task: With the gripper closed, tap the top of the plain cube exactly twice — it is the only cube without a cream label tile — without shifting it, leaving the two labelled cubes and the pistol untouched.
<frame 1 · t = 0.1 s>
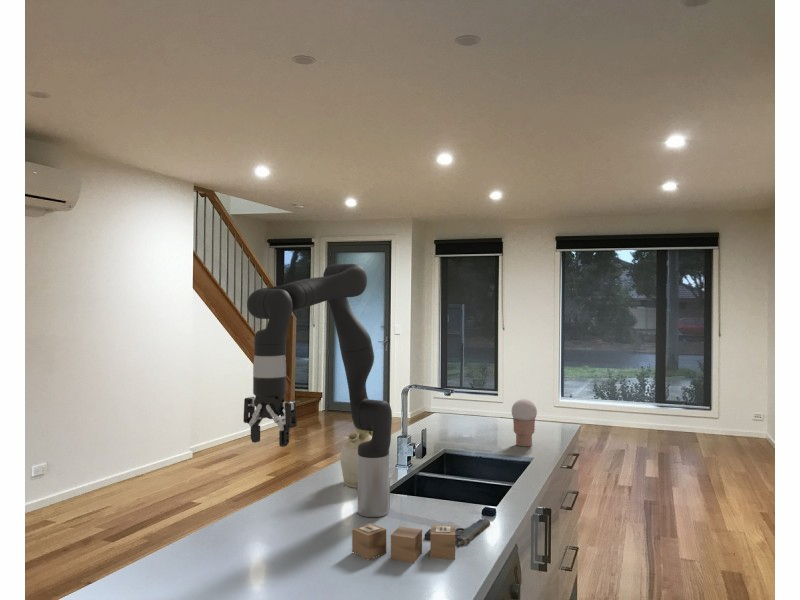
hand: (269, 444, 143), 29 cm above the worktop, tool pointing down, fingers open, 8 cm apart
pistol: (457, 534, 166), on the worktop
jug: (362, 484, 210), on the worktop
ice cream cone: (524, 445, 268), on the worktop
labelled block B: (443, 553, 152), on the worktop
plain block: (406, 556, 150), on the worktop
labelled block A: (369, 553, 152), on the worktop
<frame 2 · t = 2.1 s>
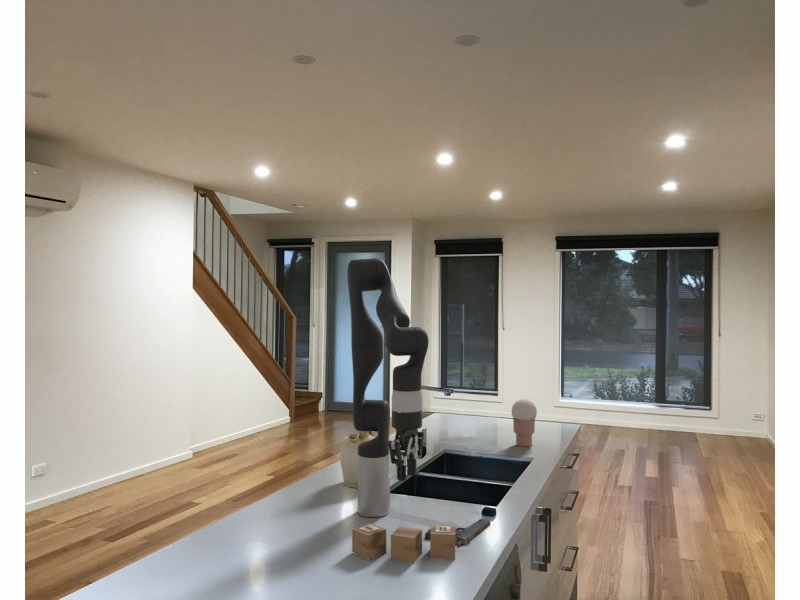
hand: (406, 477, 150), 19 cm above the worktop, tool pointing down, fingers open, 4 cm apart
nothing on the worktop moved.
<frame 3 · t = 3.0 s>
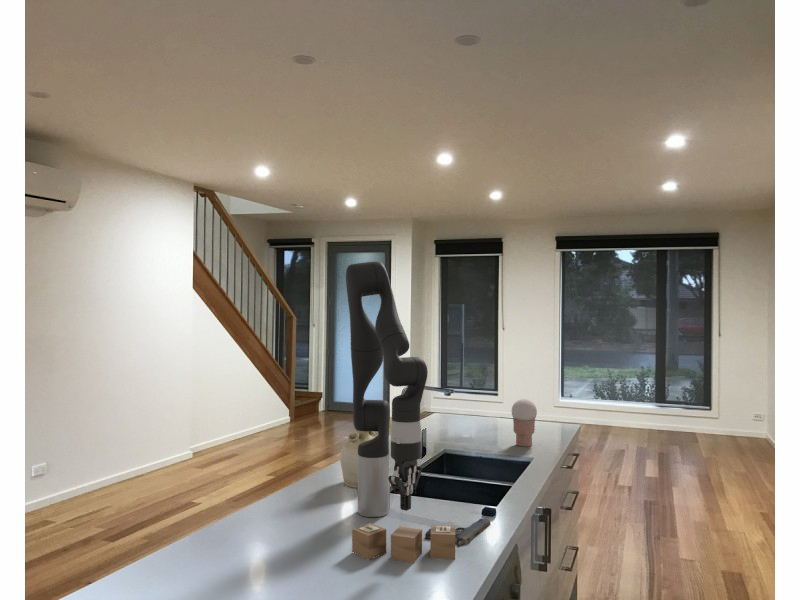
hand: (405, 509, 150), 12 cm above the worktop, tool pointing down, fingers closed
nothing on the worktop moved.
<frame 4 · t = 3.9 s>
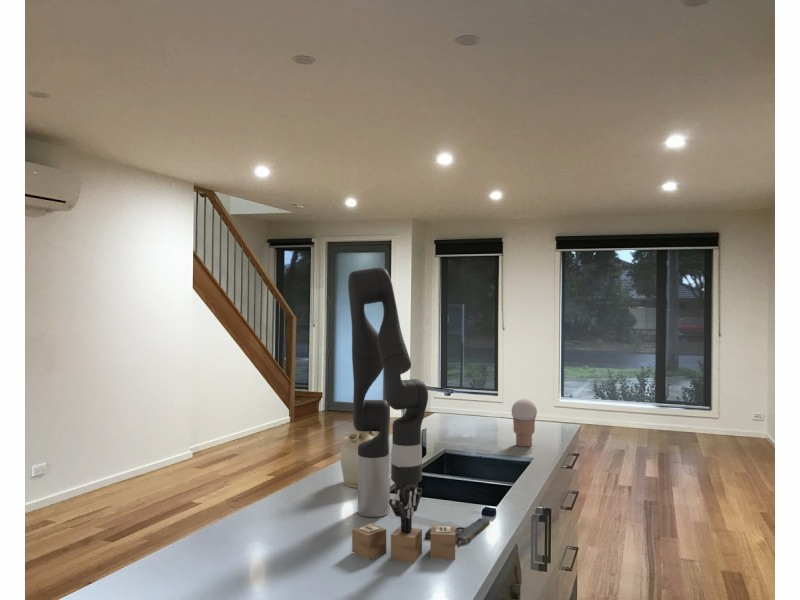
hand: (406, 531, 150), 6 cm above the worktop, tool pointing down, fingers closed
nothing on the worktop moved.
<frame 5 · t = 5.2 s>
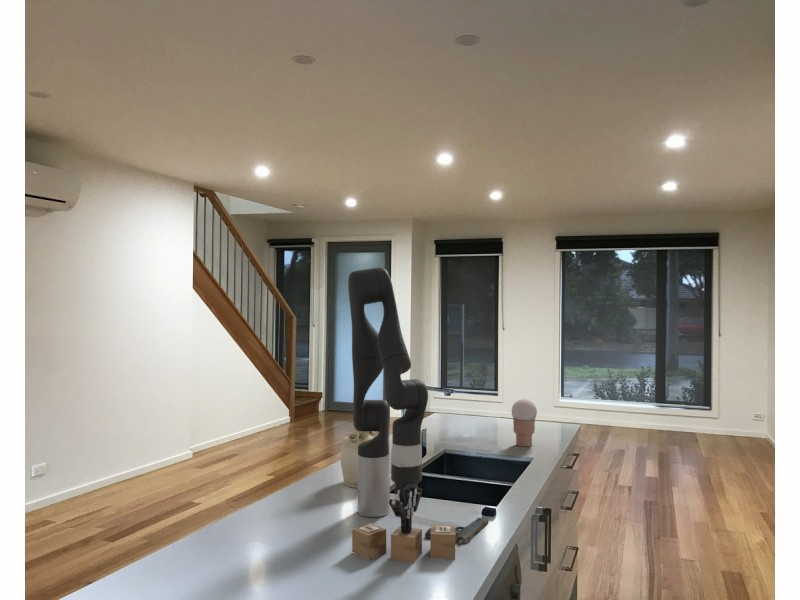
hand: (406, 532, 150), 6 cm above the worktop, tool pointing down, fingers closed
plain block: (406, 556, 150), on the worktop, touching gripper
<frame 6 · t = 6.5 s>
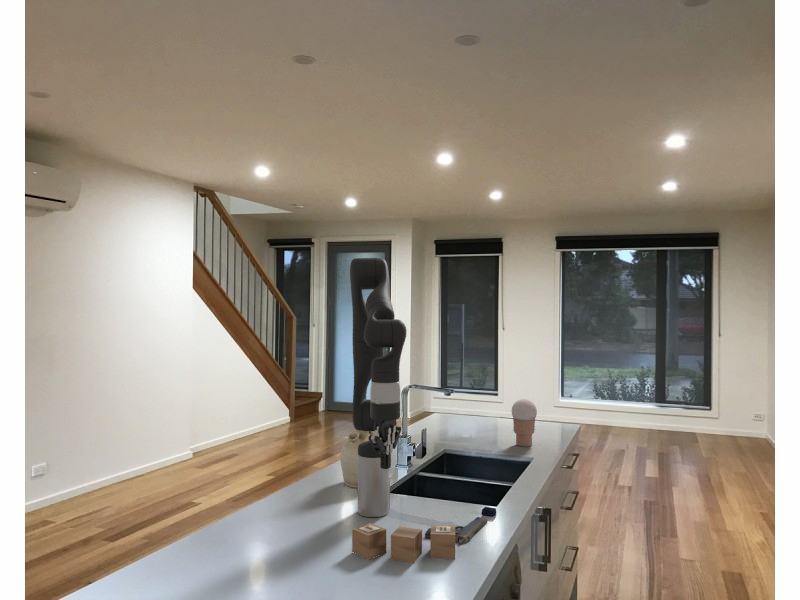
hand: (385, 468, 153), 21 cm above the worktop, tool pointing down, fingers closed
plain block: (406, 556, 150), on the worktop
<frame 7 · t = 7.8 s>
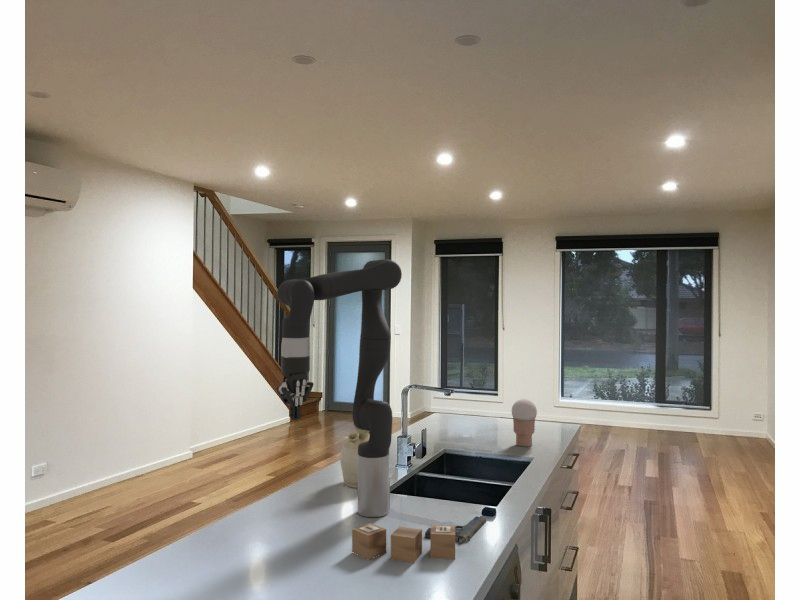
hand: (295, 419, 163), 31 cm above the worktop, tool pointing down, fingers closed
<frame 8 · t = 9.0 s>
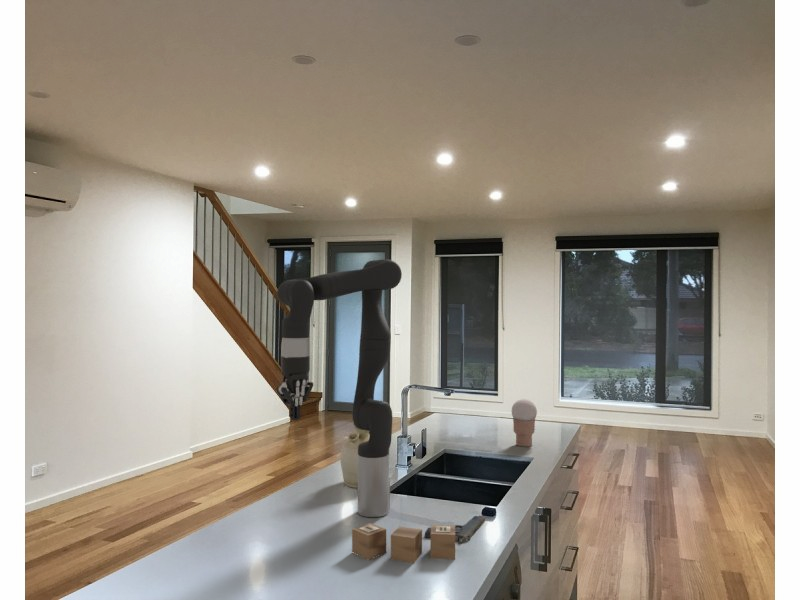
hand: (295, 419, 163), 31 cm above the worktop, tool pointing down, fingers closed
at the end: plain block moved 0.1 cm from its start; plain block tilted 0°; labelled block A moved 0.1 cm from its start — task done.
